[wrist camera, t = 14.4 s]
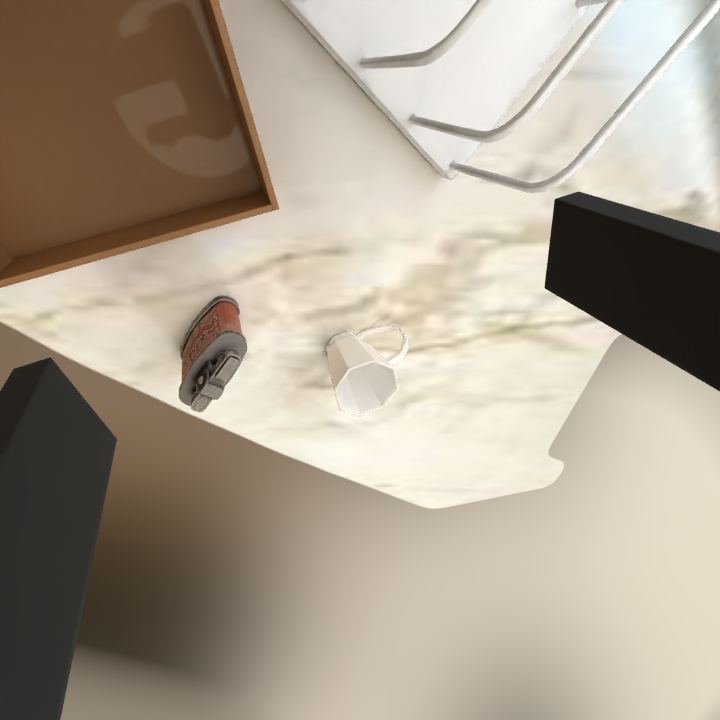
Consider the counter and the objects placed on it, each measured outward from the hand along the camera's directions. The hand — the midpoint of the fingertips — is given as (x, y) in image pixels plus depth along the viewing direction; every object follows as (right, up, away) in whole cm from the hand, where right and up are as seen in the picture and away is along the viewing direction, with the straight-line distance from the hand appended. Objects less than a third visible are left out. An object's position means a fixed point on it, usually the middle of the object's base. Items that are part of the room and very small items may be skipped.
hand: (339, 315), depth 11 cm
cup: (0, +1, +36) cm, 36 cm away
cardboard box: (-19, +16, +18) cm, 30 cm away
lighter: (-14, +2, +30) cm, 33 cm away
